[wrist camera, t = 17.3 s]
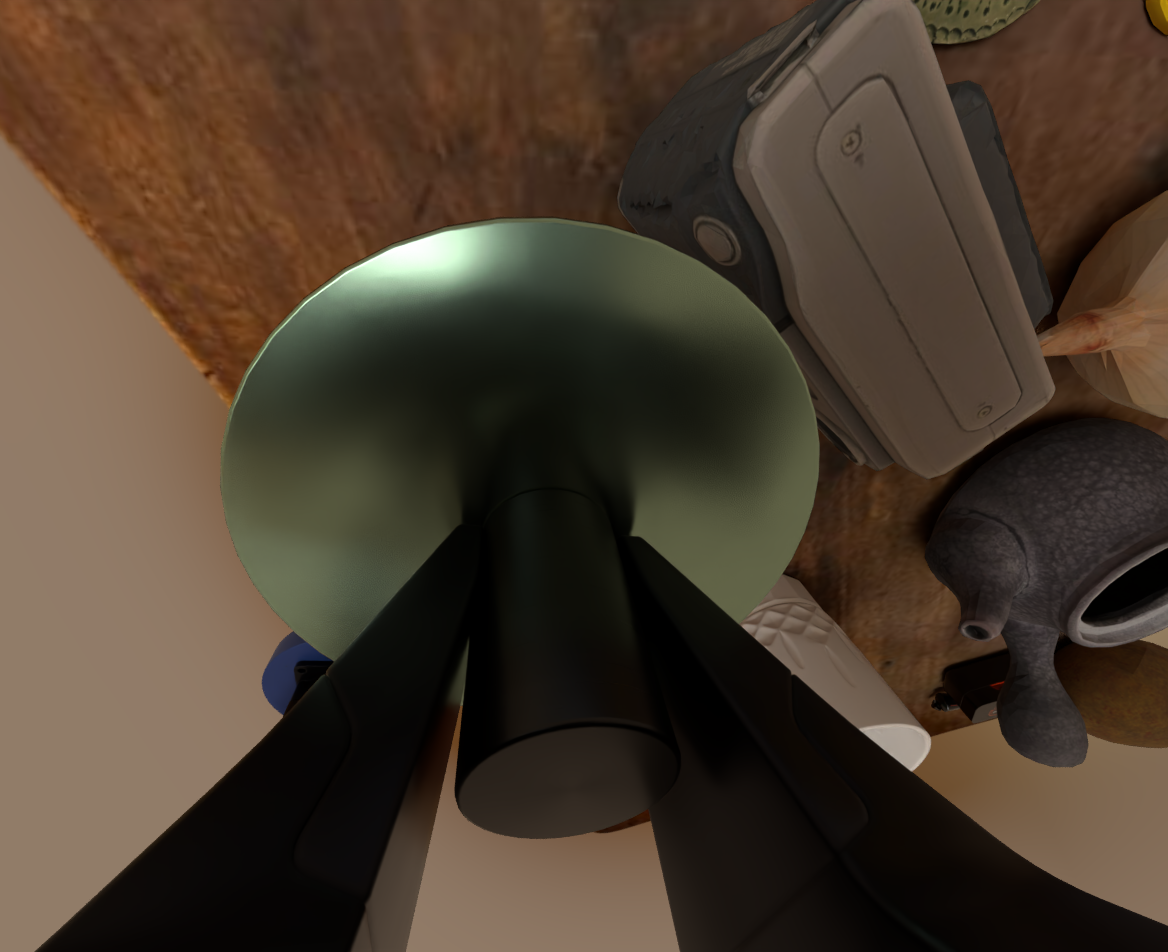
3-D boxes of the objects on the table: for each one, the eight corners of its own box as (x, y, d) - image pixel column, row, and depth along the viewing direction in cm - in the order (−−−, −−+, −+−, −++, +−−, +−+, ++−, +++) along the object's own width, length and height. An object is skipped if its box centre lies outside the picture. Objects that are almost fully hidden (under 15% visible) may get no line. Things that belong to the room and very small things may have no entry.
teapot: (886, 446, 24) (1087, 582, 15) (1163, 385, 24) (1508, 486, 16) (838, 657, 34) (942, 808, 26) (1032, 613, 34) (1199, 748, 26)
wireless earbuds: (933, 671, 37) (966, 710, 34) (1019, 646, 36) (1060, 683, 34) (926, 700, 39) (956, 738, 36) (1006, 677, 39) (1044, 713, 36)
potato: (1209, 729, 35) (1249, 647, 33) (1169, 812, 30) (1214, 720, 27) (1066, 668, 42) (1091, 596, 40) (1010, 725, 36) (1036, 645, 34)
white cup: (829, 561, 28) (963, 716, 20) (792, 642, 32) (890, 799, 24) (711, 568, 27) (798, 735, 19) (688, 651, 31) (752, 818, 23)
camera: (589, 184, 16) (672, 172, 7) (718, 36, 14) (1011, -192, 6) (752, 393, 21) (909, 523, 13) (861, 302, 20) (1124, 383, 11)
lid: (295, 668, 10) (141, 998, 6) (186, 130, 5) (-1104, -147, 1) (696, 669, 13) (792, 913, 8) (886, 286, 8) (1378, 397, 3)
